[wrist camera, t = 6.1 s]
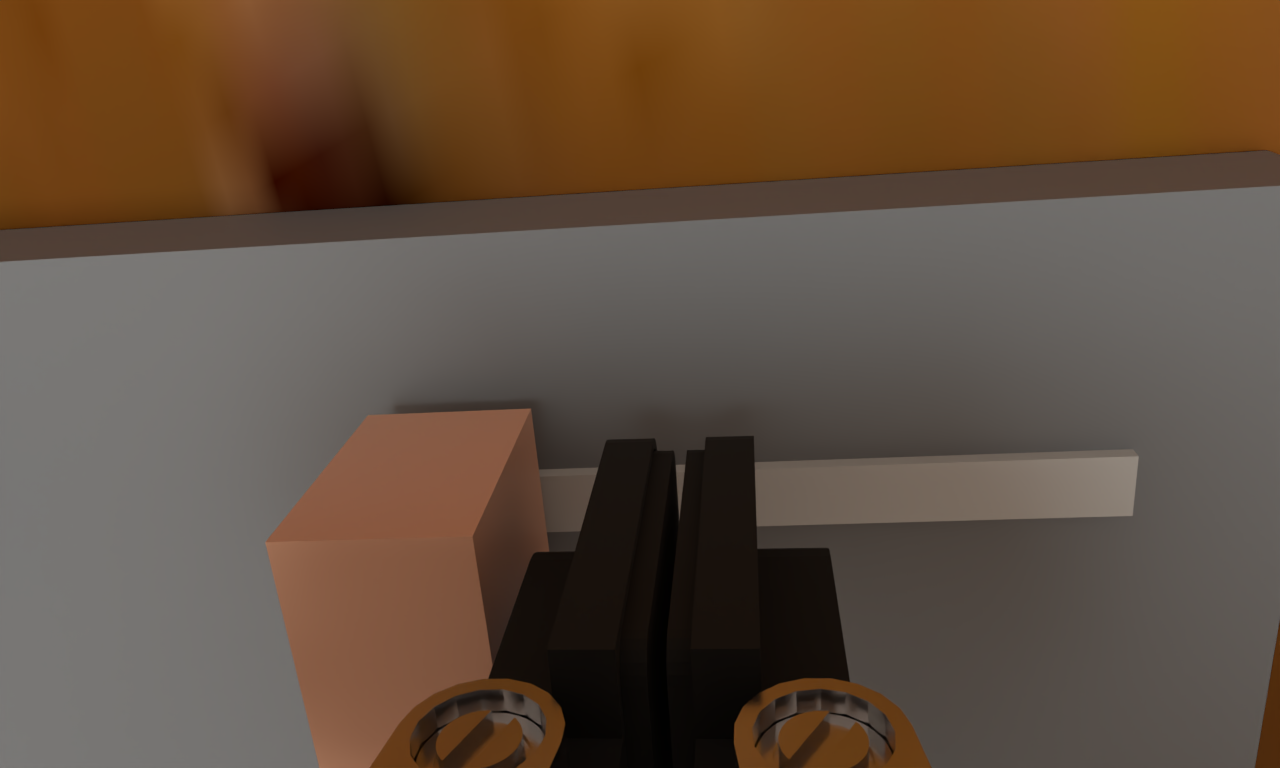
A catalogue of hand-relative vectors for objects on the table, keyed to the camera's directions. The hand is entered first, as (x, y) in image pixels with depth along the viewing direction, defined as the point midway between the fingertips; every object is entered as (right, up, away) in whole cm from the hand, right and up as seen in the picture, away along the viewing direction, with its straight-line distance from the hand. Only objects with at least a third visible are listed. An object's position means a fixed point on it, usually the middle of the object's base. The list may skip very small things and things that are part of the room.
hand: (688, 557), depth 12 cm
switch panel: (-5, -3, +5) cm, 8 cm away
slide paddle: (-3, 0, +1) cm, 3 cm away
